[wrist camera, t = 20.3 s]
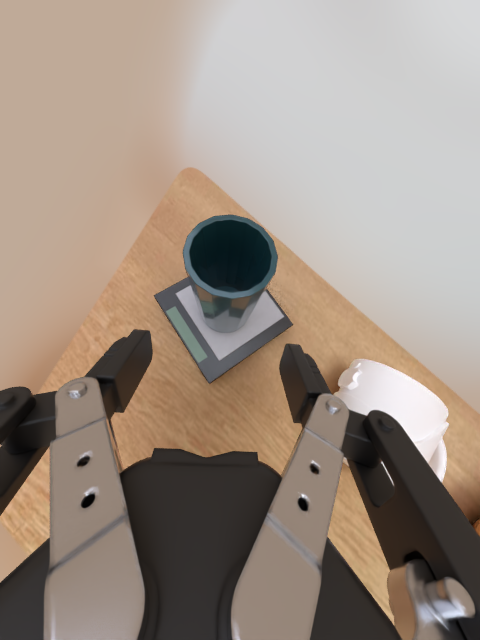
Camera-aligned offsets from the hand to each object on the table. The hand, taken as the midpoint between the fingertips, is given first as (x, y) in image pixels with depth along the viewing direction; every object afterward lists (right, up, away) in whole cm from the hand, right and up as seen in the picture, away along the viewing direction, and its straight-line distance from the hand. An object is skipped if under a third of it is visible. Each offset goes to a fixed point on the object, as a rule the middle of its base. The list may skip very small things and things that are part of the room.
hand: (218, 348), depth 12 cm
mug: (+15, -11, +12) cm, 22 cm away
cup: (0, +3, +11) cm, 11 cm away
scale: (-1, +2, +13) cm, 14 cm away
